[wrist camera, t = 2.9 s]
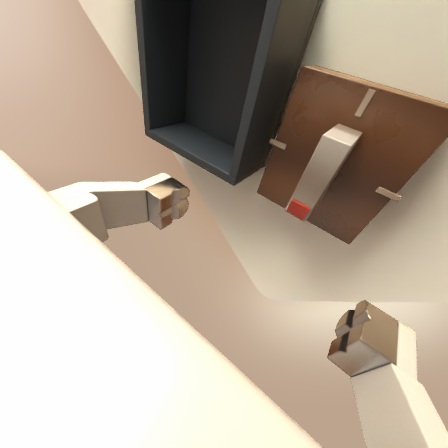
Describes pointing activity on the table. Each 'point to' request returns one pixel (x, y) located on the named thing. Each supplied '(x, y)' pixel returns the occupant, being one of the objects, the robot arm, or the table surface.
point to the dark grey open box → (220, 76)
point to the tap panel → (362, 152)
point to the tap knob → (322, 169)
